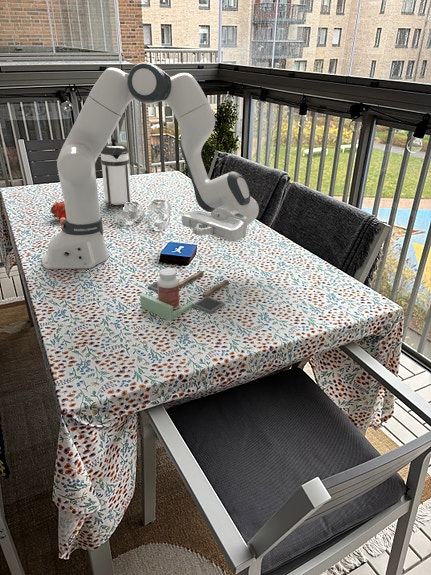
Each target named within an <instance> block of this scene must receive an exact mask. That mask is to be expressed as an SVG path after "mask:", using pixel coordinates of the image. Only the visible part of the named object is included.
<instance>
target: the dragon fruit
mask: <svg viewBox="0 0 431 575" xmlns="http://www.w3.org/2000/svg"><path fill="white" fill-rule="evenodd" d="M49 212H50V214H52V215H51V216H52V218H54V219H57V218H58V220H59V221H60V219H61V218H62V217H64V218H65V219H67V218H66V210H65V203H64V200H63V201H59V202H58V201H56V202H55V203H54V204H52V206H51V207H50V210H49Z"/></svg>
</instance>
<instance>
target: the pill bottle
mask: <svg viewBox="0 0 431 575" xmlns="http://www.w3.org/2000/svg"><path fill="white" fill-rule="evenodd" d="M179 282H180V280H179V278H178V277H177V270H176V269H175V268H170V267H166V268H162V269H161V270H160V271H159V277H158V279H157V289H158V292H157V295H158V300H159V301H162V302H164V303H166V304H169V305H171V306H173V311H174V310H177V309H179V308H180V288H179Z"/></svg>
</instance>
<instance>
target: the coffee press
mask: <svg viewBox="0 0 431 575" xmlns="http://www.w3.org/2000/svg"><path fill="white" fill-rule="evenodd" d="M110 141H111V142H107V143H106V145H105V147H104V148H103V150H102V151H101V153H100V164H101V171H102V182H103V192H104V193H103V194H104V201H105V203H107V205H106V208H107V209H112V207H113V205H115V206H116V205H117V206H118V205H119V206H120V205H125V204H124V203H126V202H131V201H132V193H131V192H132V190H131V188H132V186H131V176H130V175H131V174H130V173H131V172H130V158H129V156H130V155H129V153H130V149H129V148H128V146H127V145H125V144H123V143H118V142H117V139H116V138H115V137H112V138H110Z"/></svg>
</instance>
